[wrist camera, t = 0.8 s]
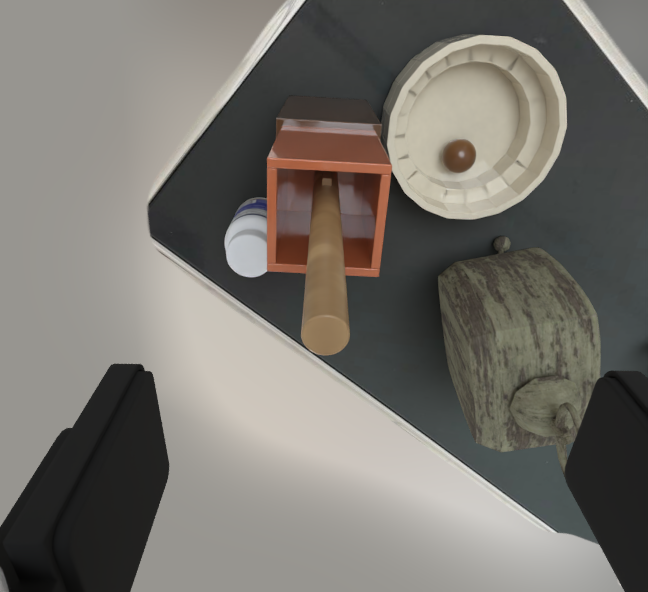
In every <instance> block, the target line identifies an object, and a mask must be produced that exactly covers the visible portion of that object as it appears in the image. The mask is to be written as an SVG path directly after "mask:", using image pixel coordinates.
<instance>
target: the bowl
mask: <svg viewBox="0 0 648 592" xmlns="http://www.w3.org/2000/svg"><path fill="white" fill-rule="evenodd" d="M381 124H382V127H381V138H382V143H383V148H384V150H385V152H386V154H387V156H388V158H389V160H390V162H391V164H392V172H393V174H394V175H395V177H396V179H397V181H398V182H399V184H400V186H401V187H402V189H403V191H404V193H405V194H406V195H407V196H409V197H410V198H411V199H412V200H413V201H414V202H416V203H417V204H418V205H419V206H420V207H422V208H423V209H424V210H427V211H429V212H432V213H434V214H437V215H439V216H442V217H445V218H449V219H467V220H472V219H473V220H474V219H478V218H482V217H486V216H490V215H494V214H498V213H500V212H502V211H504V210H506V209H508V208H509V207H511V206H513V205H515V204H517V203H518V202H520V201H522V200H523V199H524V198H526V197H527V196H528V195H529V194H530V193H531V192H532V191H533V190H534V189H535V188H536V187H537V186H538V185H539V184H540V183H541V182H542V181H543V179H545V177H546V175H547V174H548V172H549V170H550V169H551V167H552V165H553V164H554V162H555V160H556V159H557V157H558V155H559V153H560V150H561V146H562V142H563V139H564V135H565V132H566V128H567V112H566V95H565V93H564V90H563V87H562V85H561V82H560V80H559V77H558V74H557V72H556V70H555V69H554V67H553V66H552V65H551V64H550V63H549V62H548V61H547V60H546V59H545V58H544V57H543V55H542V54H541V53H540V52H539V51H538V50H537V49H535V48H533V47H531V46H529V45H527V44H525V43H523V42H521V41H518V40H516V39H514V38H512V37H507V36H491V35H468V34H462V35H459V36H455V37H452V38H448V39H445V40H441V41H438V42H436V43H434V44H432V45H431V46H429V47H428V48H426V49H425V50H424V51H422V52H421V53H419V54H418V55H416V56H415V57H413V59H411V60H410V61H409V63H408V64H407V65H406V66H405V68H404V69H403V70H402V71H401V73H400V74H399V75H398V76H397V77H396V79H395V80H394V82H393V84H392V86H391V89H390V91H389V94H388V96H387V98H386V101H385V103H384V106H383V113H382V122H381ZM461 138H462V139H466V140H468V141H470V142H471V143H472V144H473V145H474V147H475V149H476V160H475V163H474V164H473V166H472V167H471V168H470V169H469V170H467V171H465V172H462V173H453V172H451V171H449V170H448V169H446V167H445V166H444V164H443V162H442V152H443V149H444V148H445V146H446V145H447V144H448V143H449V142H450V141H452V140H454V139H461Z"/></svg>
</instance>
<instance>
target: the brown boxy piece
mask: <svg viewBox="0 0 648 592" xmlns="http://www.w3.org/2000/svg"><path fill="white" fill-rule="evenodd" d="M381 127H382V124H381V123H380V121H379V119H378V118H377V116H376V114H375V113H374V111H373V109H372V108H371V106H370V104H369V103H368V101H367V100H360V99H343V98H326V97H310V96H293V95H289V96H288V98H287V100H286V102H285V104H284V105H283V107H282V109H281V111H280V113H279V114H278V116H277V118H276V140H275V142H274V144H273V147H272V149H271V151H270V153H269V155H268V158H267V167H268V168H267V271H272V272H292V273H306V269H307V258H308V246H309V234H310V222H311V210H312V198H313V186H314V174H315V171H316V170H319V171H337V174H338V185H339V198H340V211H341V224H342V237H343V250H344V263H345V275H350V276H369V277H379V272H380V263H381V255H382V247H383V239H384V230H385V222H386V214H387V205H388V197H389V189H390V181H391V172H392V164H391V162H390V160H389V158H388V156H387V154H386V152H385V150H384V148H383V146H382V144H381V142H380V137H381Z"/></svg>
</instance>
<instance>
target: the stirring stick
mask: <svg viewBox="0 0 648 592" xmlns="http://www.w3.org/2000/svg"><path fill="white" fill-rule="evenodd" d="M301 338H302V341H303V343H304V345H305V346H306V347H307V348H308V349H309V350H310V351H312V352H313V353H316V354H319V355H332V354H336V353H338V352H339V351H341V350H342V349H343V348H344V347H345V346H346V345H347V343H348V341H349V338H350V328H349V315H348V302H347V289H346V276H345V263H344V250H343V237H342V224H341V211H340V198H339V185H338V174H337V171H319V170H316V171H315V174H314V186H313V198H312V210H311V222H310V234H309V246H308V258H307V269H306V281H305V293H304V305H303V317H302V329H301Z"/></svg>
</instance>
